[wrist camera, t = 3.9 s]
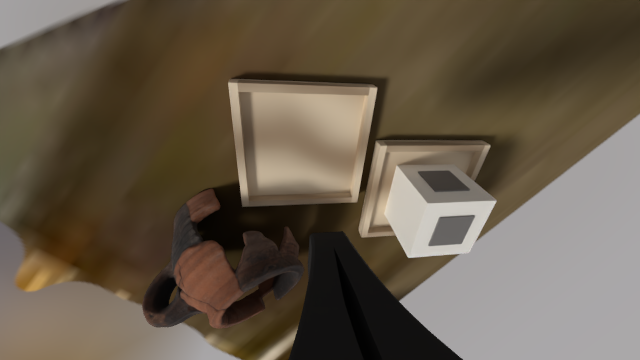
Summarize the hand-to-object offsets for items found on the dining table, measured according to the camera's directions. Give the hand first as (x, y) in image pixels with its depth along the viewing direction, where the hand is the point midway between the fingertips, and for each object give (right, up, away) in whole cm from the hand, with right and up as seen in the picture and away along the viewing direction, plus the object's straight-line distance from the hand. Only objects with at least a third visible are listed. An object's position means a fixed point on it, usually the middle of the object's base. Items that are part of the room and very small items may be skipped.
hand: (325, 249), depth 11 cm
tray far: (+8, +2, +12) cm, 15 cm away
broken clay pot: (-8, -2, +12) cm, 15 cm away
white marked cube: (+8, +2, +12) cm, 14 cm away
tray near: (-1, +5, +8) cm, 10 cm away
